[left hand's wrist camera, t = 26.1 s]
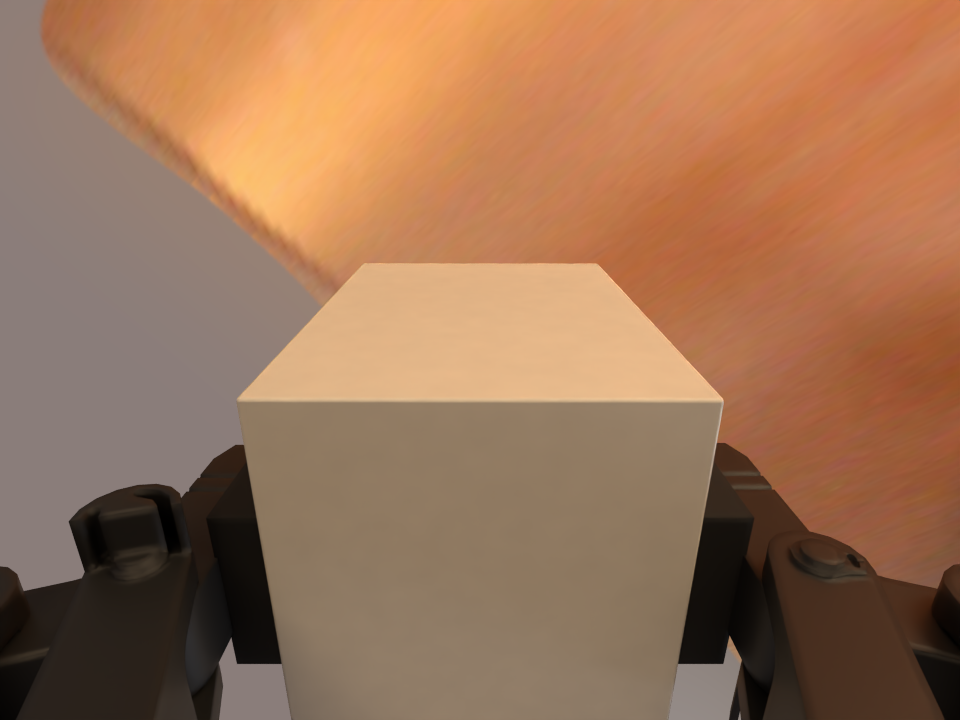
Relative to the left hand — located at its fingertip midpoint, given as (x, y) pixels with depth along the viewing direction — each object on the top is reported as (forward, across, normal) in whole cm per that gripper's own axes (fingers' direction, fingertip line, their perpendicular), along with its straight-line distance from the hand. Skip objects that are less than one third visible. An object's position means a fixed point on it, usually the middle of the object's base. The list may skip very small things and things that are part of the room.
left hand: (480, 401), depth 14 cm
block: (+1, 0, 0) cm, 1 cm away
